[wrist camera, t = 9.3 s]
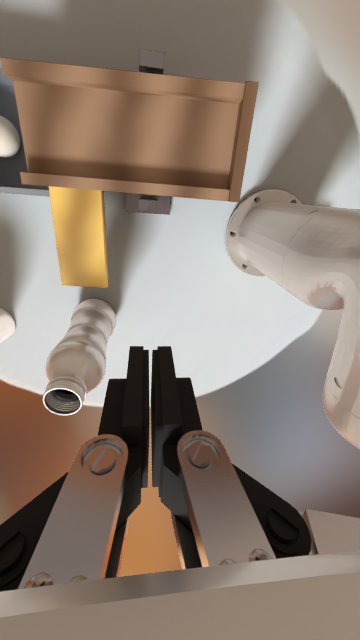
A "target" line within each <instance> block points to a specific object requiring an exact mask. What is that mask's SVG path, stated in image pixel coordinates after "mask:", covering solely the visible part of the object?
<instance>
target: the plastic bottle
mask: <svg viewBox="0 0 360 640" xmlns="http://www.w3.org/2000/svg"><path fill="white" fill-rule="evenodd" d="M115 326H116V318H115V313H114V311H113V309H112V308H111V306H110V305H109V304H107V303H106V302H104V301H102V300H99V299H87V300H85V301H83V302H81V303H80V304H79V305H78V306H77V307H76V308H75V309H74V311H73V314H72V318H71V325H70V327H69V330H68V332H67V333H66V335H65V336H64V338H63V339H62V340H61V341H60V343H59V344H58V345H57V346H56V347H55V348H54V349H53V350H52V352H51V353H50V355H49V356H48V358H47V362H46V374H47V377H48V379H49V383H48V385H47V388H46V391H45V393H44V395H43V404H44V406H45V407H46V408H47V409H48V410H49V411H50V412H52V413H55V414H58V415H72V414H74V413H76V412H78V411H79V410H80V408H81V407H82V404H83V401H84V399H85V398H86V395H87V393H88V392H90V391H92V390H93V389H95V388H96V387H97V386H98V385H99V384H100V382H101V381H102V379H103V378H104V375H105V367H106V356H105V353H106V346H107V342H108V339H109V337H110V336H111V334H112V333H113V331H114V328H115Z"/></svg>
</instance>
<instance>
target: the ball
mask: <svg viewBox="0 0 360 640" xmlns="http://www.w3.org/2000/svg"><path fill="white" fill-rule="evenodd" d="M19 148H20V137H19V134H18V132H17V130H16V128H15V127H14V126H13V124H12V123H11V122H10V121H9V120H7V119H6V118H4V117H3V116H1V115H0V157H11V156H13V155H15V154H16V153H17V152H18V150H19Z"/></svg>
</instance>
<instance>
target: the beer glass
mask: <svg viewBox="0 0 360 640" xmlns="http://www.w3.org/2000/svg"><path fill="white" fill-rule="evenodd" d="M14 331H15V321H14V319H13V317H12V316H11V315H10V314H9V313H8V312H7V311H5V310H4V309H2V308H0V343H1V342H2V341H4V340H5V339H7V338H9V337H10V336H11V335H12V334H13V333H14Z"/></svg>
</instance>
